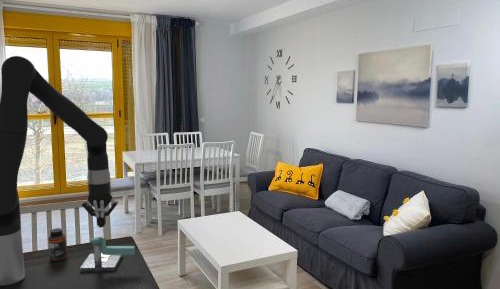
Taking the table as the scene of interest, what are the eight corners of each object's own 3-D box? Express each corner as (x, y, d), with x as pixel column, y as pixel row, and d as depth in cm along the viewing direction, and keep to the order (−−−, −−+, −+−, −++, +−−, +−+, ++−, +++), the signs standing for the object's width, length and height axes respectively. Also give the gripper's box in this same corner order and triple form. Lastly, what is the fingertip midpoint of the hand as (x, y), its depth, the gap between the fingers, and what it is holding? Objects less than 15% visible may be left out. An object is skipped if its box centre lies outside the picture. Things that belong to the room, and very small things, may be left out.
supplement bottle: (62, 253, 156) (60, 225, 154) (69, 257, 152) (68, 229, 151) (46, 258, 152) (44, 230, 150) (54, 263, 148) (52, 234, 146)
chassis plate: (79, 272, 141) (78, 245, 140) (90, 257, 153) (89, 232, 151) (114, 271, 142) (113, 244, 141) (122, 256, 154) (121, 231, 152)
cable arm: (94, 251, 144) (93, 237, 143) (135, 251, 144) (135, 237, 144) (89, 256, 140) (89, 241, 139) (132, 256, 141) (132, 241, 140)
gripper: (76, 183, 140) (79, 230, 142) (114, 183, 140) (117, 230, 143) (83, 178, 147) (86, 223, 150) (120, 178, 148) (122, 222, 151)
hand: (101, 226), depth 146 cm, fingers closed
